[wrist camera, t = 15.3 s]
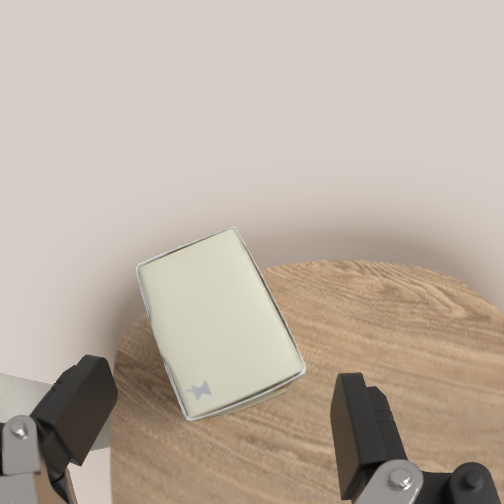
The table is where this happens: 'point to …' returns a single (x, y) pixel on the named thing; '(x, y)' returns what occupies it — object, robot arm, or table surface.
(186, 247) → the cosmetic box
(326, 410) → the table surface
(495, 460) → the table surface
